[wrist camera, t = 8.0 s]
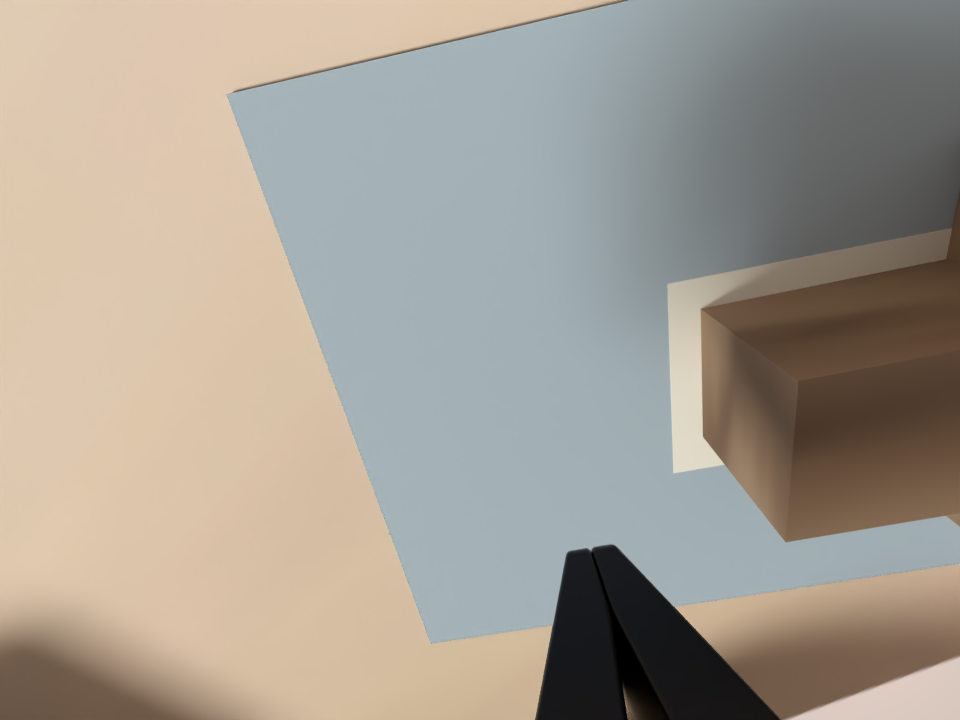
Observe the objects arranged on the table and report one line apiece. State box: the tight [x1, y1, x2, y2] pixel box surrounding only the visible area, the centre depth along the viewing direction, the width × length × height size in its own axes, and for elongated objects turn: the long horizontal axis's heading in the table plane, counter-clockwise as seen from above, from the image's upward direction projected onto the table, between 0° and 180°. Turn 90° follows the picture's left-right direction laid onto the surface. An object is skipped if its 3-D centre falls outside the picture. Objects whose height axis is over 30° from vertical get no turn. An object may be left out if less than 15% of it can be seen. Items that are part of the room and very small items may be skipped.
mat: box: [227, 0, 960, 644], centre depth 13 cm, size 18×22×1 cm
